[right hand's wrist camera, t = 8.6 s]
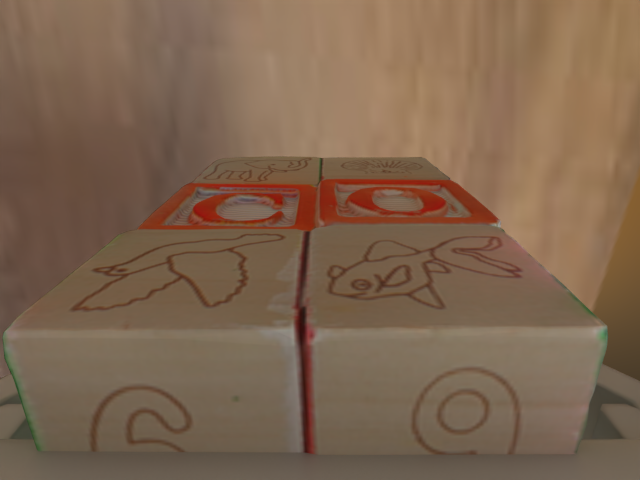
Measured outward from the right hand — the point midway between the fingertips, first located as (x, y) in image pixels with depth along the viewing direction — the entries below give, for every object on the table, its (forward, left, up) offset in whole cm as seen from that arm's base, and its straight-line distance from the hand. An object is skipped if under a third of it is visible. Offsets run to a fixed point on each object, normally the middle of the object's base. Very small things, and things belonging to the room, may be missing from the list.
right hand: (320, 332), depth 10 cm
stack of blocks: (+7, 0, -4) cm, 8 cm away
